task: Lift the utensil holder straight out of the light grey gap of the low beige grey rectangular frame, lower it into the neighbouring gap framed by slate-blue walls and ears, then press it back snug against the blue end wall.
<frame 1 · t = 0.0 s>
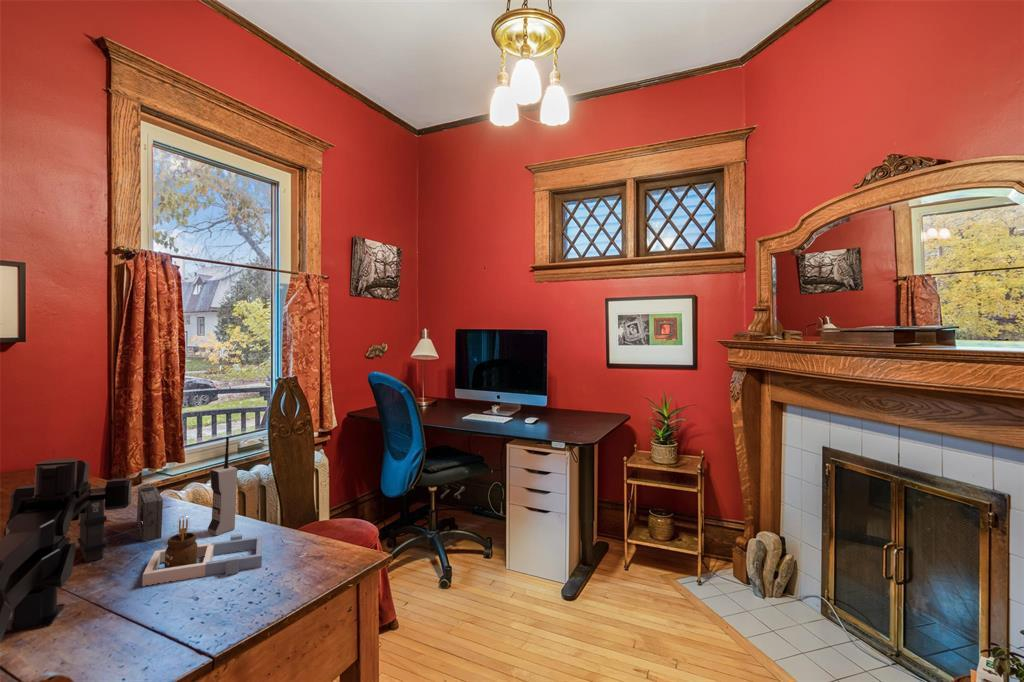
hand: (88, 485, 105), 17 cm above the table, tool horizontal, fingers open, 9 cm apart
dark ridged block: (90, 552, 108), on the table
utensil holder: (180, 569, 103), resting in beige grey rectangular frame
vintage mobile phone: (221, 532, 122), on the table
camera: (148, 530, 121), on the table
beige grey rectangular frame: (208, 564, 105), on the table
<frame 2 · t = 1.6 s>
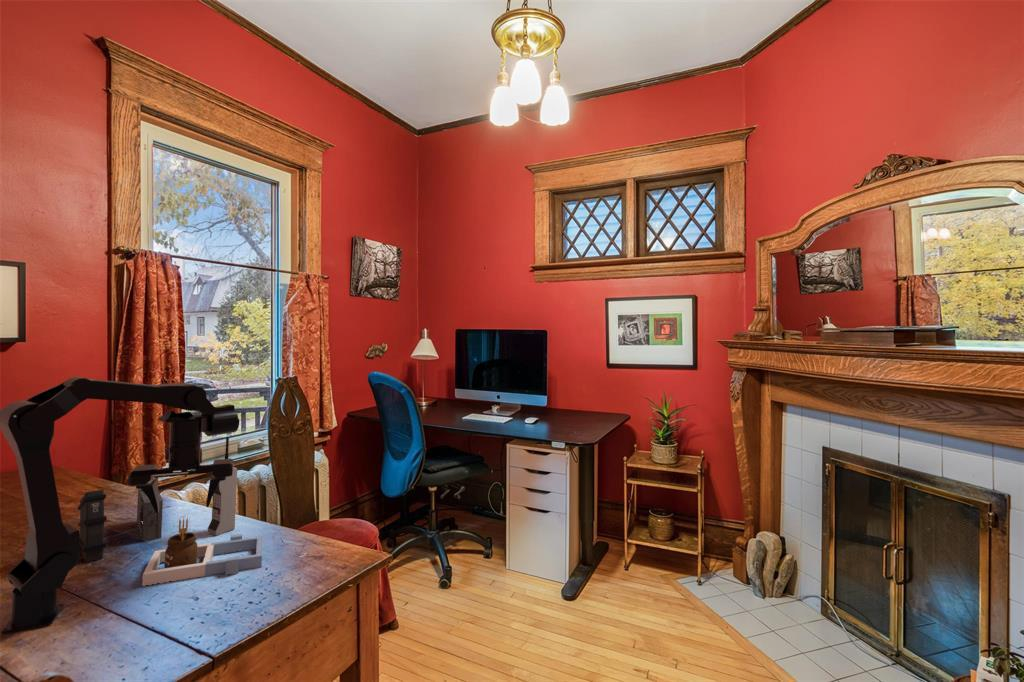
hand: (183, 509, 103), 13 cm above the table, tool pointing down, fingers open, 9 cm apart
nothing on the table moved.
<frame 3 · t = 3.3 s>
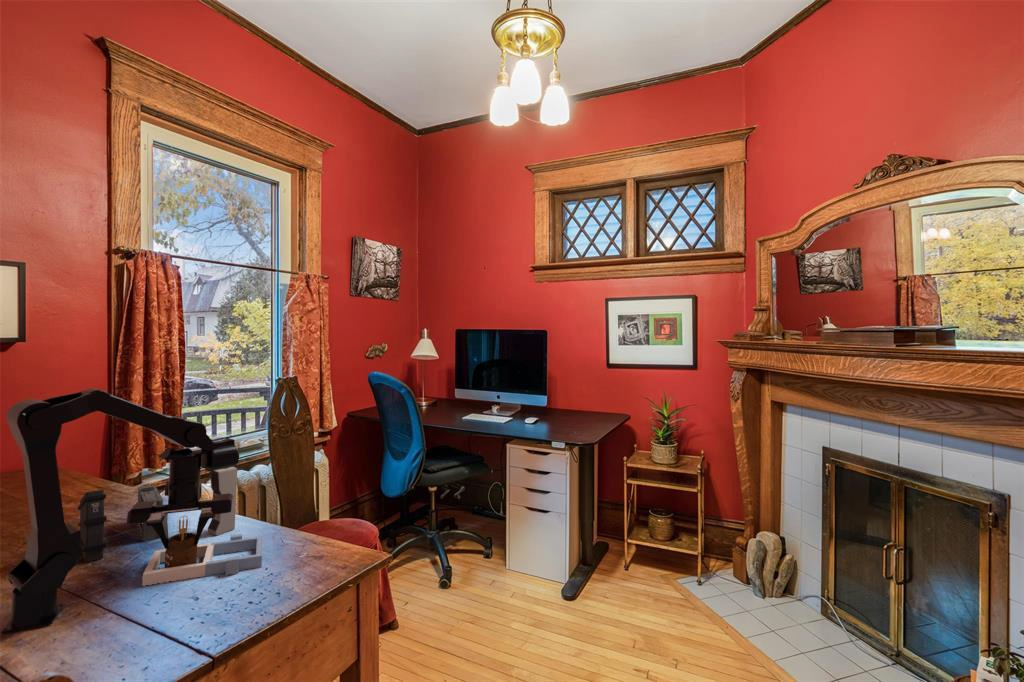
hand: (181, 546, 103), 5 cm above the table, tool pointing down, fingers closed on utensil holder, 5 cm apart
utensil holder: (180, 569, 103), resting in beige grey rectangular frame, touching gripper
everything else where it was.
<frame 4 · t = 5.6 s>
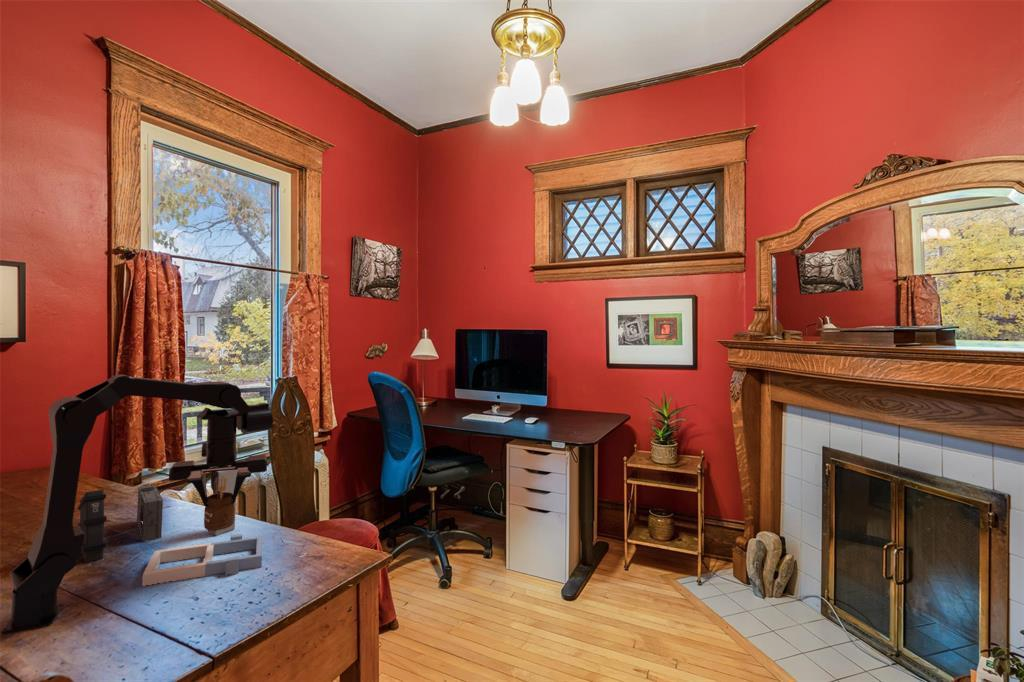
hand: (219, 504, 106), 13 cm above the table, tool pointing down, fingers closed on utensil holder, 5 cm apart
utensil holder: (219, 527, 106), point 8 cm above the table, touching gripper
everything else where it was.
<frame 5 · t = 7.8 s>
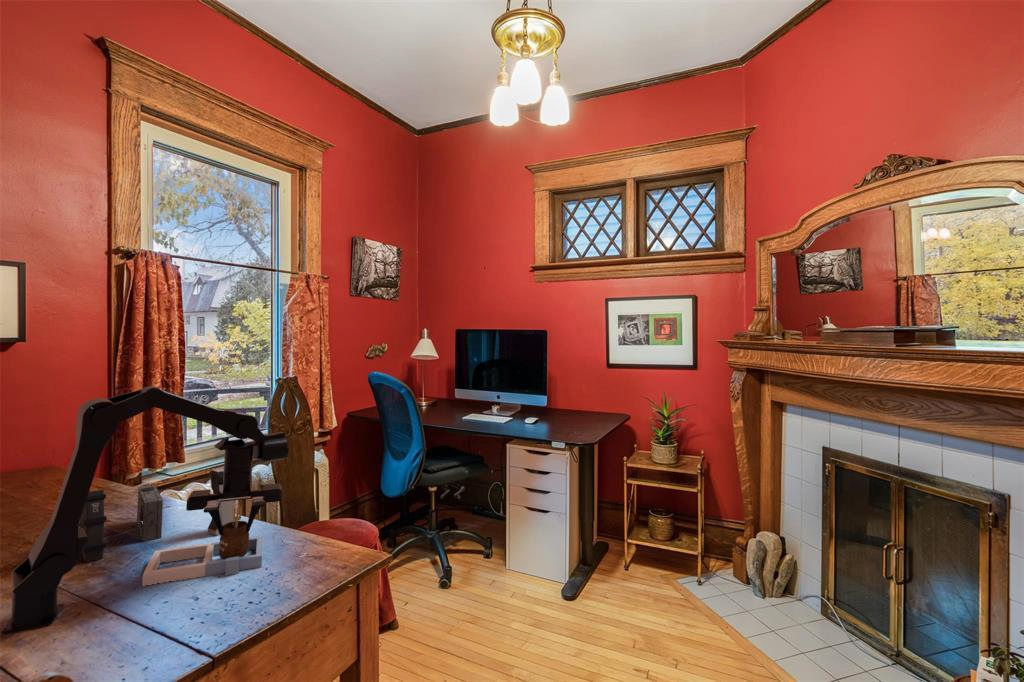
hand: (234, 532, 107), 6 cm above the table, tool pointing down, fingers closed on utensil holder, 5 cm apart
utensil holder: (233, 555, 107), point 1 cm above the table, touching gripper
everything else where it was.
when the fingers open (6 cm above the table, at t = 7.9 s): utensil holder drops 1 cm, resting in beige grey rectangular frame.
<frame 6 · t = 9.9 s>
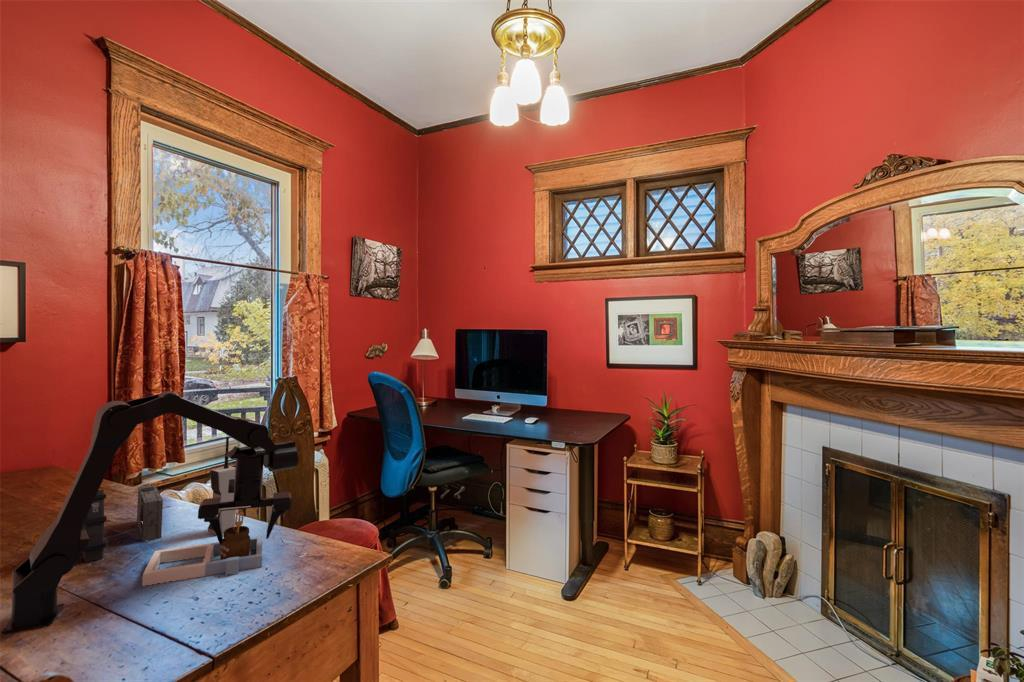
hand: (244, 540, 108), 4 cm above the table, tool pointing down, fingers open, 9 cm apart
utensil holder: (234, 561, 107), resting in beige grey rectangular frame, touching gripper
everything else where it was.
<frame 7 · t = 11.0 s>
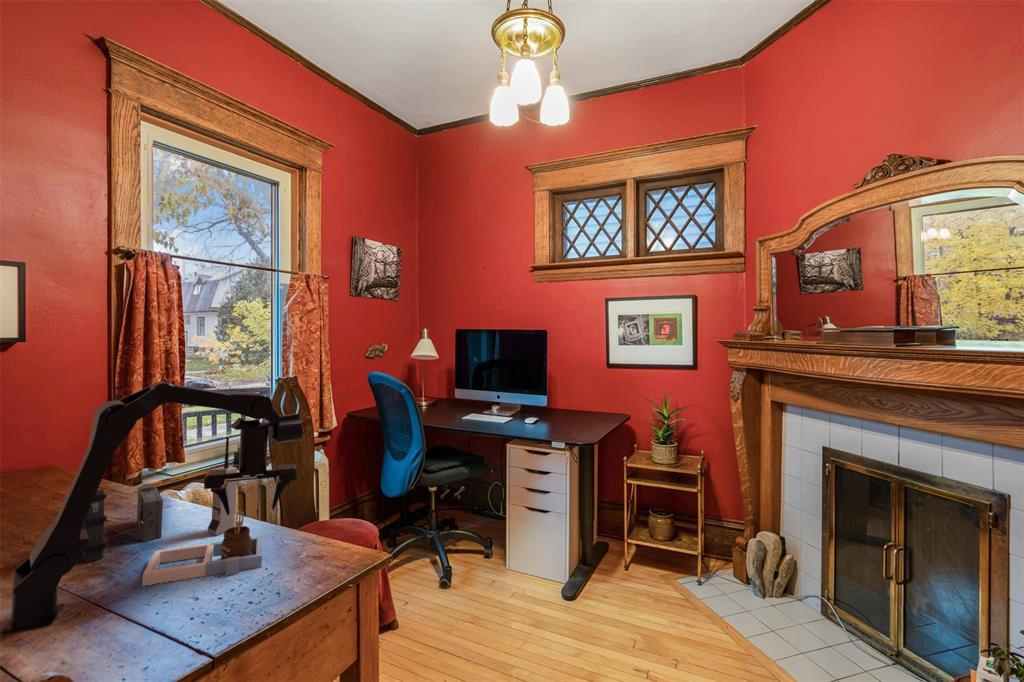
hand: (251, 511, 109), 11 cm above the table, tool pointing down, fingers open, 9 cm apart
utensil holder: (235, 561, 107), resting in beige grey rectangular frame
everything else where it was.
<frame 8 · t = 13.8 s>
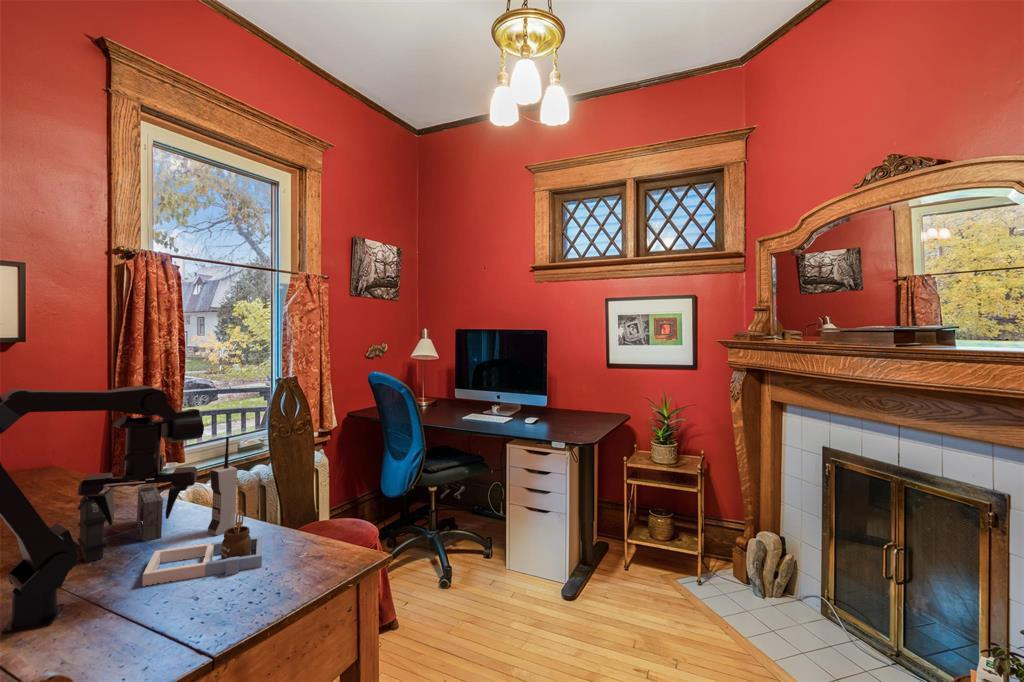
hand: (140, 521, 96), 13 cm above the table, tool pointing down, fingers open, 9 cm apart
nothing on the table moved.
at the end: utensil holder 0.4 cm from the target spot on the beige grey rectangular frame, point 0.0 cm above the beige grey rectangular frame's base; utensil holder tilted 0°; the gripper is holding nothing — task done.
